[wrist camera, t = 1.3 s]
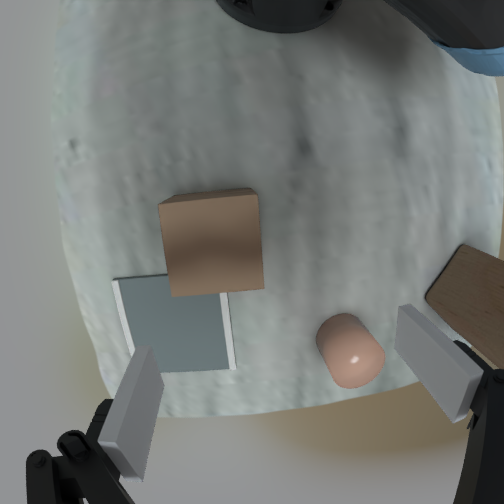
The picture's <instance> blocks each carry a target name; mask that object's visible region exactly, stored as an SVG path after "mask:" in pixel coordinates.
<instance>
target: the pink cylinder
mask: <svg viewBox="0 0 504 504" xmlns="http://www.w3.org/2000/svg"><path fill="white" fill-rule="evenodd" d="M316 343H317V347H318V349H319V351H320V353H321V355H322V357H323V359H324V361H325V363H326V365H327V367H328V369H329V371H330V374H331V376H332V378H333V380H334V381H335V383H336V384H337V385H339V386H340V387H343V388H348V389H351V388H358V387H361V386H363V385H365V384H367V383H369V382H370V381H372V380H373V379H374V378H375V377H376V376H377V375H378V374H379V373H380V371H381V370H382V368H383V366H384V363H385V352H384V350H383V348H382V347H381V346H380V345H379V343H378V342H377V341H376V340H375V338H374V337H373V336H372V335H371V333H370V332H369V331H368V330H367V328H366V327H365V326H364V325H363V324H362V322H361V321H360V320H359V319H358V318H357V317H356V316H354V315H352V314H346V313H344V314H338V315H335V316H333V317H331V318H329V319H328V320H326V321H325V322H324V323H323V324H322V326H321V327H320V329H319V330H318V333H317V336H316Z"/></svg>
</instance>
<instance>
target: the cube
mask: <svg viewBox="0 0 504 504" xmlns="http://www.w3.org/2000/svg"><path fill="white" fill-rule="evenodd" d="M158 208H159V216H160V224H161V231H162V239H163V246H164V252H165V259H166V265H167V271H168V277H169V283H170V289H171V295H172V297H179V296H191V295H203V294H215V293H226V292H237V291H247V290H257V289H264V276H263V261H262V247H261V233H260V219H259V205H258V194H257V193H256V192H254V191H253V190H252V189H251V188H244V189H232V190H221V191H211V192H201V193H192V194H183V195H174V196H173V197H171V198H169V199H167V200H165V201H163V202H162V203H160V204H158Z"/></svg>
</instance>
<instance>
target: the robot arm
mask: <svg viewBox="0 0 504 504" xmlns="http://www.w3.org/2000/svg"><path fill="white" fill-rule="evenodd" d="M383 1H385V2H386V3H388V4H389V5H390V6H392V7H393V8H394V9H396V10H397V11H399V12H400V13H401V14H402V15H404V16H405V17H406V18H408V19H409V20H410V21H411V22H412V23H414V24H415V25H416V26H417V27H418V28H419V29H421V30H422V31H423V32H424V33H425V34H426V35H427V36H428V38H429V39H430V40H431V41H432V42H433V43H434V44H435V45H437V46H438V47H440V48H442V49H444V50H445V51H446V52H447V53H449V54H450V55H451V56H452V57H453V58H454V59H455V60H456V61H457V62H458V63H459V64H461V65H462V66H463V67H465V68H466V69H468V70H470V71H472V72H474V73H479V74H484V75H486V76H504V0H383ZM217 2H218V3H219V5H220V6H221V7H222V8H223V9H224V10H225V11H226V12H227V13H228V14H229V15H231V16H232V17H233V18H235V19H236V20H238V21H240V22H242V23H244V24H246V25H248V26H251V27H254V28H257V29H260V30H264V31H270V32H278V33H295V32H302V31H306V30H310V29H313V28H315V27H318V26H320V25H322V24H323V23H325V22H326V21H327V20H329V19H330V18H331V17H332V15H333V14H334V13H335V12H336V10H337V9H338V8H339V6H340V5H341V3H342V0H217ZM394 349H395V350H396V351H397V352H398V354H399V355H400V356H401V357H402V359H403V360H404V361H405V362H406V363H407V365H408V366H409V367H410V368H411V370H412V371H413V372H414V374H415V375H416V376H417V377H418V379H419V380H420V381H421V382H422V384H423V385H424V386H425V387H426V389H427V390H428V391H429V393H430V394H431V395H432V397H434V399H435V400H436V402H437V403H438V404H439V405H440V407H441V408H442V410H443V411H444V412H445V414H446V415H447V416H448V418H449V419H450V420H451V422H452V423H455V422H457V421H459V420H461V419H463V418H465V417H466V416H467V413H468V411H469V409H471V410H472V411H473V412H474V413H473V415H472V418H471V420H470V422H469V424H468V427H467V429H469V427H470V432H469V438H468V444H467V449H466V454H465V459H464V464H463V468H462V472H461V477H460V481H459V485H458V488H457V492H456V495H455V499H454V502H453V504H504V369H495V370H493V369H492V368H491V367H490V366H489V365H488V364H487V363H486V362H485V361H484V360H483V359H482V358H480V357H479V356H478V355H476V353H475V352H474V351H472V349H471V348H470V347H468V346H467V345H466V344H465V343H463V342H460V341H458V340H455V341H452V340H450V339H449V338H448V337H447V336H446V335H445V334H444V333H443V332H442V331H441V330H439V329H438V328H437V327H436V326H435V325H434V324H433V323H432V322H431V321H429V320H428V319H427V318H426V317H425V316H424V315H423V314H421V313H420V312H419V311H418V310H417V309H416V308H415V307H413V306H412V305H411V304H407V305H403V306H399V308H398V319H397V329H396V338H395V346H394ZM163 389H164V383H163V380H162V377H161V374H160V372H159V369H158V366H157V363H156V360H155V357H154V354H153V351H152V348H151V345H143V346H137V347H136V349H135V351H134V354H133V356H132V358H131V360H130V363H129V365H128V367H127V369H126V372H125V374H124V376H123V379H122V381H121V383H120V386H119V388H118V391H117V393H116V395H115V398H114V399H105V400H104V401H103V402H102V403H101V404H100V405H99V406H98V408H97V410H96V412H95V416H94V417H93V419H92V422H91V423H90V426H89V428H88V430H87V433H86V435H85V434H84V433H83V432H81V431H79V430H71V431H68V432H66V433H64V434H63V435H61V437H60V438H59V439H58V442H57V448H58V449H59V451H60V452H61V453H62V455H63V456H57V457H52V456H51V455H50V454H49V452H47V451H46V450H36V451H34V452H32V453H31V454H30V455H29V456H28V458H27V461H26V487H27V504H84V502H83V498H86V499H87V501H88V503H89V504H135V503H134V501H133V500H132V499H131V497H130V496H129V494H128V493H127V492H126V490H125V489H124V488H123V486H122V485H121V483H120V482H119V478H120V474H121V475H122V476H123V478H124V479H125V480H126V481H135V482H143V478H144V473H145V469H146V464H147V459H148V454H149V450H150V445H151V441H152V436H153V432H154V427H155V423H156V419H157V414H158V410H159V406H160V402H161V398H162V394H163Z"/></svg>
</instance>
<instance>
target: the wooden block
mask: <svg viewBox="0 0 504 504" xmlns="http://www.w3.org/2000/svg"><path fill="white" fill-rule="evenodd" d="M426 300H427V302H428V304H429V305H430V306H431V307H432V308H433V309H434V310H435V311H436V312H437V313H438V314H439V315H440V316H441V317H442V318H443V319H444V320H445V321H446V323H447V324H448V325H449V326H450V327H451V328H452V329H453V330H455V331H456V332H457V333H458V334H459V335H461V336H462V337H463V338H464V339H465V340H467V341H468V342H469V343H470V344H471V345H473V346H474V347H475V348H476V349H477V350H478V351H480V352H481V353H482V354H483V355H484V356H485V357H487V358H488V359H489V360H490V361H491V362H492V363H493V364H494V365H496V366H497V367H498V368H499V369H504V261H502V260H500V259H498V258H496V257H494V256H491V255H489V254H487V253H484V252H482V251H480V250H477V249H475V248H473V247H470V246H468V245H462V246H461V247H460V248H459V249H458V251H457V252H456V254H455V255H454V257H453V258H452V260H451V261H450V262H449V264H448V265H447V267H446V268H445V270H444V271H443V273H442V274H441V275H440V277H439V278H438V280H437V281H436V282H435V284H434V285H433V286H432V288H431V289H430V290H429V292H428V293H427V295H426Z"/></svg>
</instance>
